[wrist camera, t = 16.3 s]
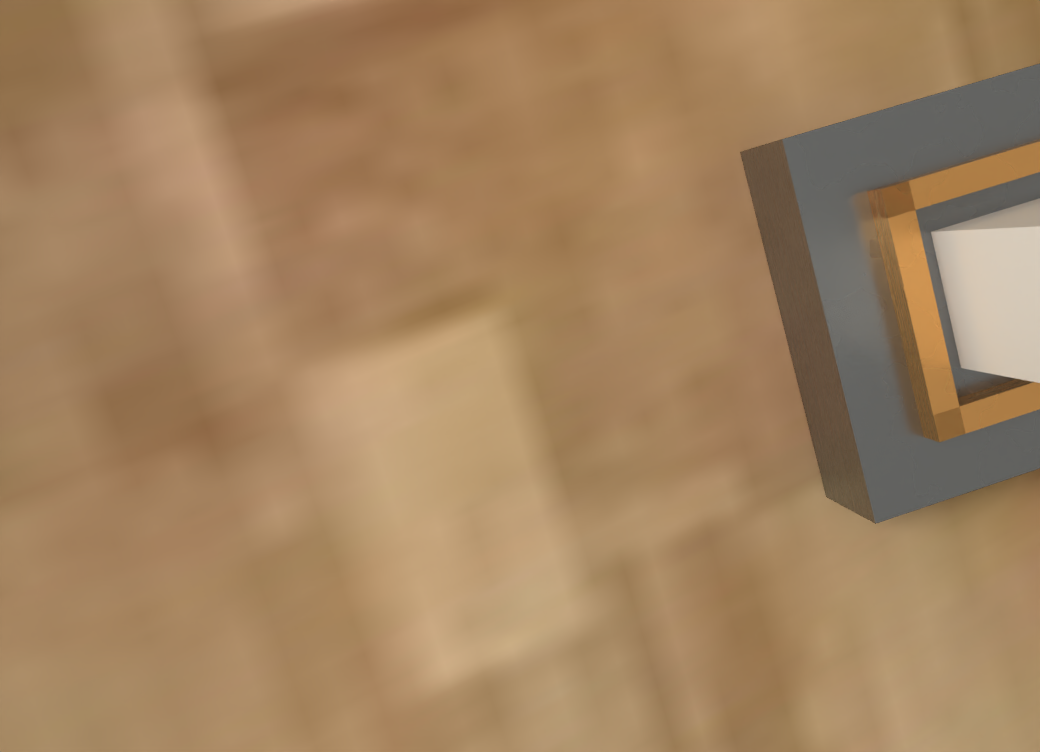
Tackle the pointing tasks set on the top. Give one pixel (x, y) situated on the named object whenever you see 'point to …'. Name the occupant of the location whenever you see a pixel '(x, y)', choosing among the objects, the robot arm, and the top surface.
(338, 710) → the top surface
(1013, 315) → the column
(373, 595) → the top surface
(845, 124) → the jig plate
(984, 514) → the top surface
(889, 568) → the top surface
